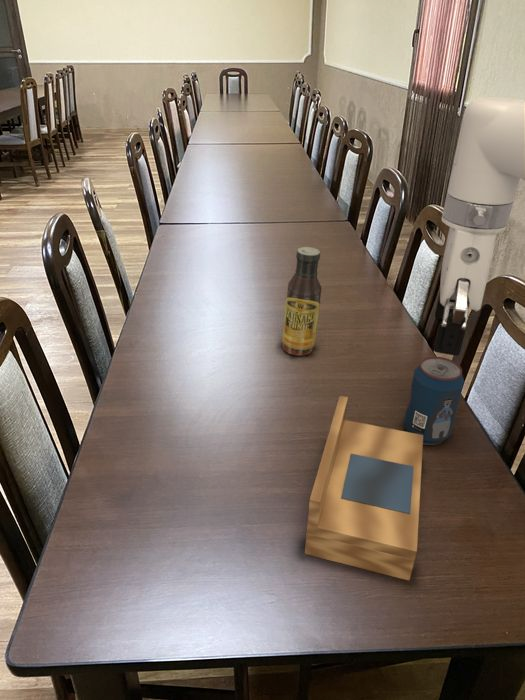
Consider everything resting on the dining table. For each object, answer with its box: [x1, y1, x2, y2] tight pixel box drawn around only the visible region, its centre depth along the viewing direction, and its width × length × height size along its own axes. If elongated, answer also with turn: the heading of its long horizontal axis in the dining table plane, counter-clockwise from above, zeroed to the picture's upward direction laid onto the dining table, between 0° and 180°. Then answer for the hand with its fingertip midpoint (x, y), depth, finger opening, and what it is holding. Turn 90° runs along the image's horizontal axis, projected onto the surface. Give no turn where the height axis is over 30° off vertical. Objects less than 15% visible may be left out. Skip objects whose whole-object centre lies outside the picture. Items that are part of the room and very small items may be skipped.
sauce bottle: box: [281, 246, 323, 357], centre depth 97 cm, size 7×6×20 cm
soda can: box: [403, 356, 465, 446], centre depth 79 cm, size 7×7×12 cm
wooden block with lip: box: [304, 395, 424, 581], centre depth 67 cm, size 12×20×9 cm, turn 164°
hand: (445, 334), depth 73 cm, fingers open, 9 cm apart
